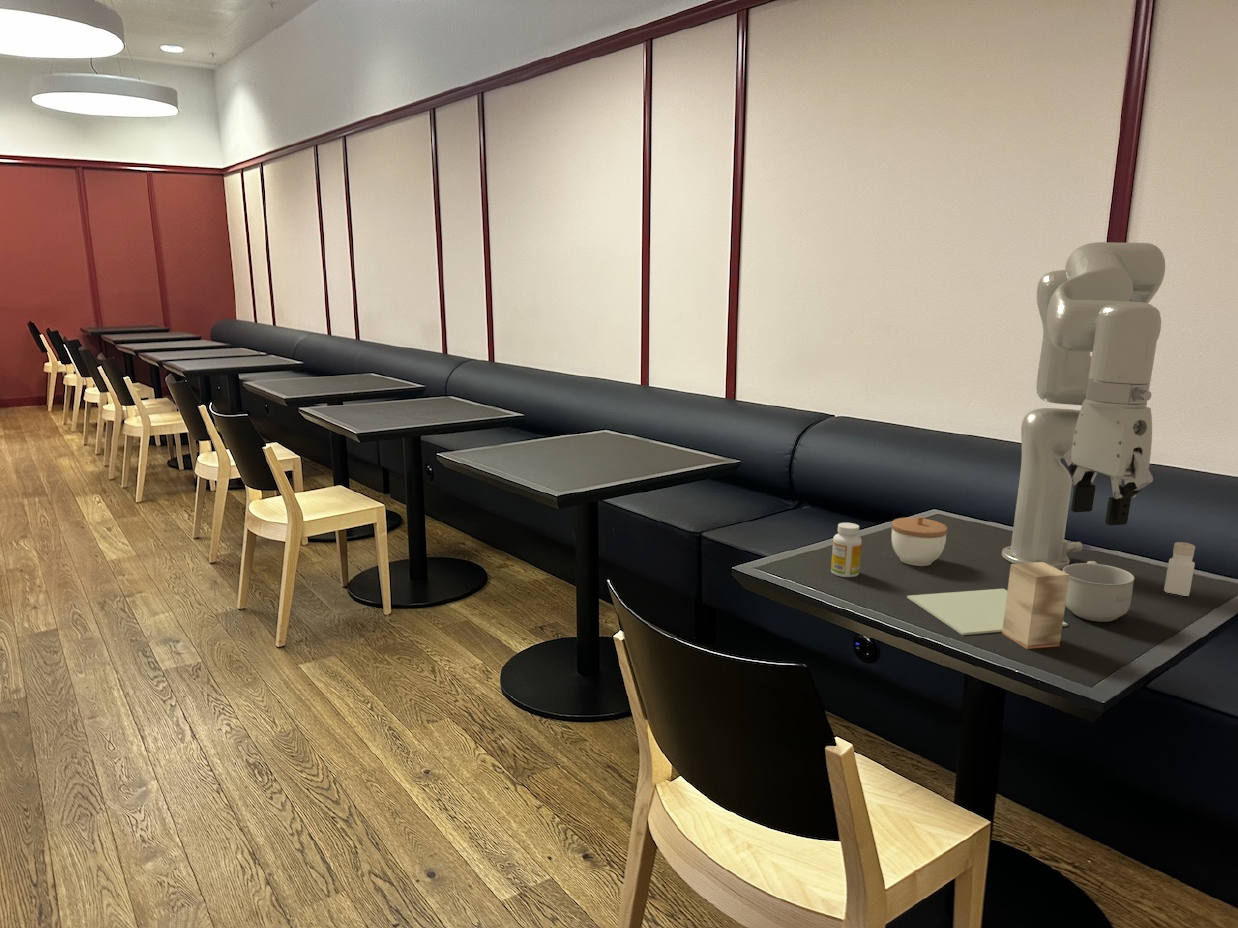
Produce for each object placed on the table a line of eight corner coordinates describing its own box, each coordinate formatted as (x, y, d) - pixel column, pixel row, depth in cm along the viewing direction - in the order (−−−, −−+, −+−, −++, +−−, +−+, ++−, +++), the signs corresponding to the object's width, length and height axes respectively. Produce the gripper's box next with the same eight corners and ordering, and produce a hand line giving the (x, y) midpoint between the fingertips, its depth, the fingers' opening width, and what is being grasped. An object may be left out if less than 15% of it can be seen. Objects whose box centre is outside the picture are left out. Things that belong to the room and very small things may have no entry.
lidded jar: (912, 549, 183) (917, 507, 181) (955, 564, 174) (960, 520, 172) (877, 557, 178) (881, 513, 176) (919, 573, 169) (923, 527, 167)
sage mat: (1003, 590, 161) (1003, 588, 160) (1067, 625, 145) (1067, 623, 145) (907, 597, 156) (907, 595, 156) (962, 635, 140) (962, 632, 140)
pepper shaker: (1164, 587, 164) (1172, 539, 162) (1189, 592, 162) (1198, 544, 160) (1163, 593, 161) (1171, 545, 159) (1188, 598, 159) (1197, 549, 156)
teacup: (1126, 633, 143) (1133, 587, 141) (1053, 618, 148) (1060, 574, 146) (1129, 606, 154) (1136, 564, 152) (1062, 593, 160) (1068, 552, 158)
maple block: (1033, 630, 143) (1042, 561, 140) (1059, 645, 137) (1069, 574, 134) (1001, 633, 141) (1010, 564, 139) (1026, 648, 136) (1036, 576, 133)
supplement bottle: (856, 569, 170) (860, 522, 168) (861, 578, 165) (865, 530, 163) (828, 567, 171) (832, 520, 169) (832, 577, 166) (836, 528, 164)
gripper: (1191, 403, 113) (1169, 534, 117) (1093, 385, 130) (1076, 501, 134) (1144, 404, 112) (1123, 537, 116) (1050, 385, 128) (1034, 503, 132)
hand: (1098, 516), depth 125 cm, fingers open, 5 cm apart
